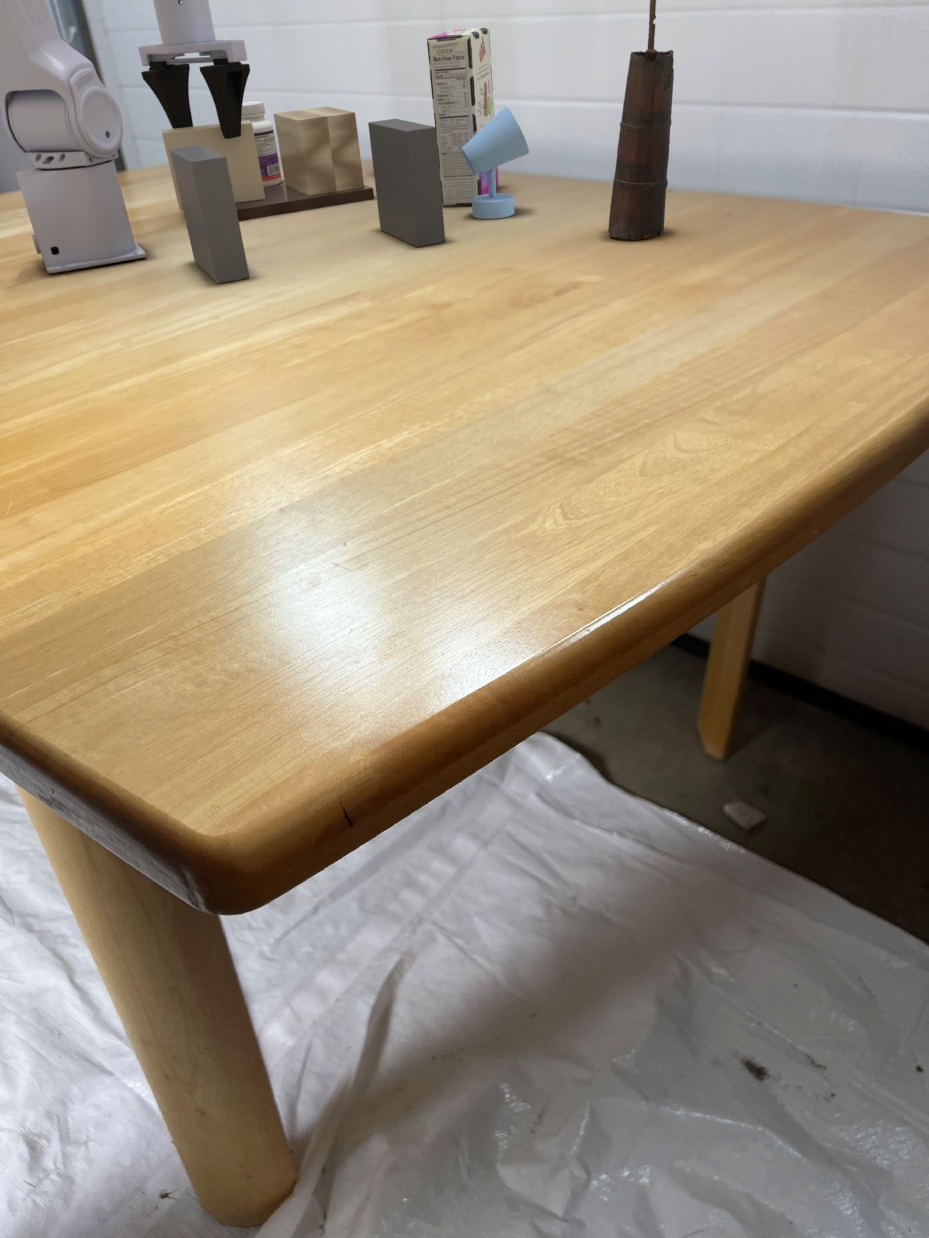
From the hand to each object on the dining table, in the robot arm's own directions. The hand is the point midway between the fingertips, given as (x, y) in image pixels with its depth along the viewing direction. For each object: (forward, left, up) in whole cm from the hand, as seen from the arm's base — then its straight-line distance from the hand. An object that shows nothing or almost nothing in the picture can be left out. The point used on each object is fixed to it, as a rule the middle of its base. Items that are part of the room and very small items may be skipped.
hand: (208, 137), depth 106 cm
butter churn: (+29, -44, -8) cm, 53 cm away
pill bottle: (+9, +16, -8) cm, 20 cm away
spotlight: (+24, -25, -8) cm, 36 cm away
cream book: (0, 0, -7) cm, 7 cm away
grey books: (+3, -28, -8) cm, 29 cm away
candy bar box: (+26, -14, -8) cm, 31 cm away
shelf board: (+7, 0, -8) cm, 11 cm away
